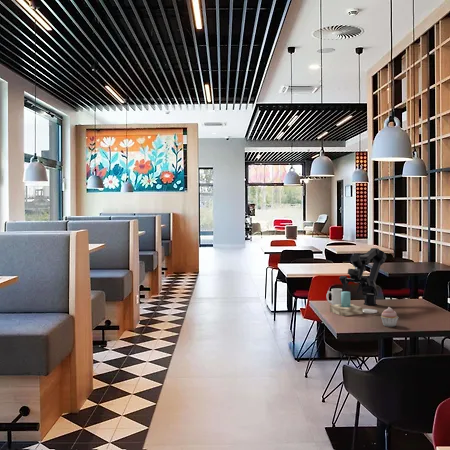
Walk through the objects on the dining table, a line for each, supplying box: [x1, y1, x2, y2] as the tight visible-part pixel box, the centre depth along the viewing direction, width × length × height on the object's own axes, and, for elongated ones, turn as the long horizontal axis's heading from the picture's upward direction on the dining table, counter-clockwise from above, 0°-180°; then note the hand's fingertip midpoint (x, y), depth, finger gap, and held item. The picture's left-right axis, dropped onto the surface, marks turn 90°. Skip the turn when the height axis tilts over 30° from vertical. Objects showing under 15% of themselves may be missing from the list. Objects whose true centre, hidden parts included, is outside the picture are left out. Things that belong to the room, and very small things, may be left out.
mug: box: [326, 287, 343, 305], centre depth 312 cm, size 10×7×12 cm, turn 73°
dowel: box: [341, 290, 352, 308], centre depth 295 cm, size 5×5×12 cm
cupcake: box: [380, 306, 399, 328], centre depth 258 cm, size 9×9×10 cm
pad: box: [363, 308, 378, 314], centre depth 296 cm, size 10×10×1 cm
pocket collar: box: [329, 303, 364, 317], centre depth 295 cm, size 14×14×4 cm
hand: (350, 291), depth 299 cm, fingers open, 9 cm apart
